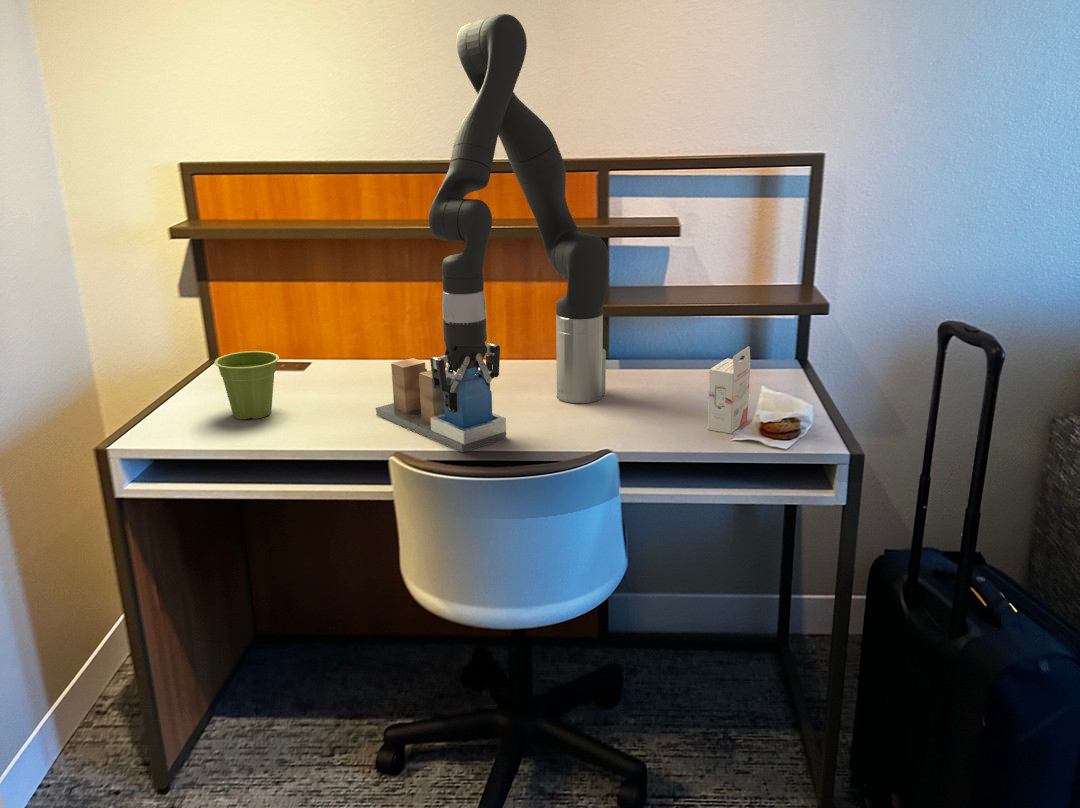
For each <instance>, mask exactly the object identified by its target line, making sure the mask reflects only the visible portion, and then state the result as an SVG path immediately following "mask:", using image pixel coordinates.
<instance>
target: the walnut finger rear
mask: <svg viewBox="0 0 1080 808" xmlns="http://www.w3.org/2000/svg"><path fill="white" fill-rule="evenodd" d="M390 366H391V367H390V368H391V380H392V394H393V395H392V396H393V403H394V408H396V409H398V410H400V411H403V412H405V413H407V412H411V411H415V410H418V409H421V402H420V384H419V373H422V372H426V371H428V368H426V362H425V361H422V360H419V359H416V358H413V357H412V358H411V357H410V358H408V359H404V360H400V361H395V362H392V363H390Z"/></svg>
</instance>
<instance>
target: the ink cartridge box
mask: <svg viewBox="0 0 1080 808" xmlns="http://www.w3.org/2000/svg"><path fill="white" fill-rule="evenodd" d="M742 357H744V358H742ZM741 358H742V360H741ZM708 372H709V373H708V374H709V375H708V376H709V377H708V402H707V403H708V405H707V428H706V429H707V431H713V432H720V433H724V434H729V433H731V434H733V433H734V432H735V431H736V430H737V429H738V428H740V427H741V426H742V425H743V424H744V423H746V422H747V420H748V414H749V413H748V412H749V411H748V410H749V395H750V379H751V347H750V346H749V345H748V346H747V347H746V348H744V349H742V350H740V351H739V352H738V353H736V354H735V355H733V357H732V358H725V359H724V360H722V361H721V362H719V363H717V364H716V365H714V366H712V367H711V368H709V370H708ZM732 432H733V433H732Z"/></svg>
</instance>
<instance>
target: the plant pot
mask: <svg viewBox="0 0 1080 808" xmlns="http://www.w3.org/2000/svg"><path fill="white" fill-rule="evenodd" d="M279 360H280V357H279V355H278V354H276V353H273V352H270V351H260V350H251V351H250V350H249V351H248V350H247V351H239V352H233V353H229V354H228V353H227V354H225V355H222V356H220V357H217V358H216V359H215V360H214V365H215V366H217V367H218V370H219V373H220V376H221V378H222V380H223V384H224V388H225V391H226V394H227V398H228V401H229V402H228V403H229V406H230V408H231V409H230V410H231V412H232V415H233V417H234V418H236V419H240V420H248V419H254V420H255V419H262V418H265V417H267V415H268V416H269V415H271V413H272V408H273V396H274V395H273V393H274V383H275V382H274V380H275V373H276V368H277V362H278V361H279Z"/></svg>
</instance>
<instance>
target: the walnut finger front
mask: <svg viewBox="0 0 1080 808" xmlns="http://www.w3.org/2000/svg"><path fill="white" fill-rule="evenodd" d="M446 369H447V368H445V371H446ZM453 374H454V375H455V371H453ZM419 384H420V402H421V419H422V420H424V421H427V422H429V423H431V417H435V416H438V415H442V414H445V408H444V392H442V391H440V390H437V389H435V388H434V386H433V378H432V370H427V371H426V372H422V373H419Z"/></svg>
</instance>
